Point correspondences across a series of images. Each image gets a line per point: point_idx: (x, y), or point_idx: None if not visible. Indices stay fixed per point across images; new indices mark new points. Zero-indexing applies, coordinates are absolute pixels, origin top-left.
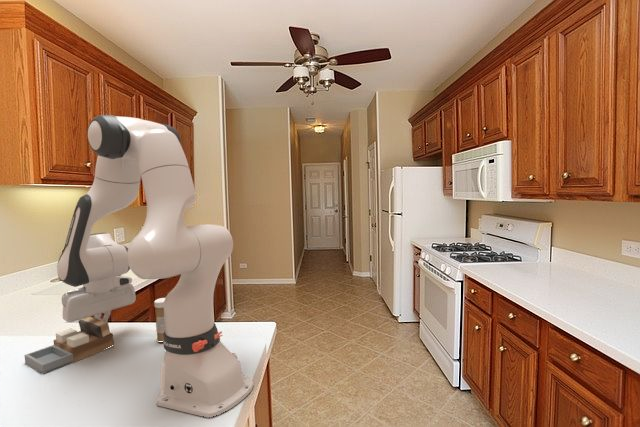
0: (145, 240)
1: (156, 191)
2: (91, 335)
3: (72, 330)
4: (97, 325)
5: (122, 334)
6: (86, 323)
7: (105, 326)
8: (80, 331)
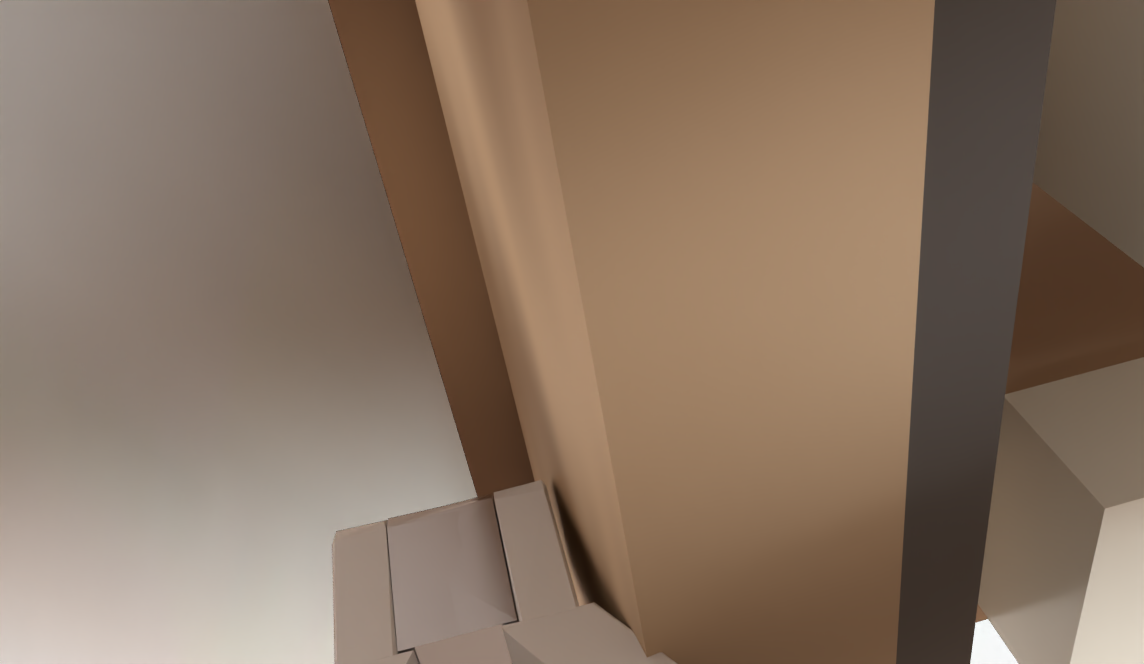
0: None
1: None
2: None
3: (1130, 589)
4: (925, 169)
5: (3, 396)
6: (960, 658)
7: None
8: None
